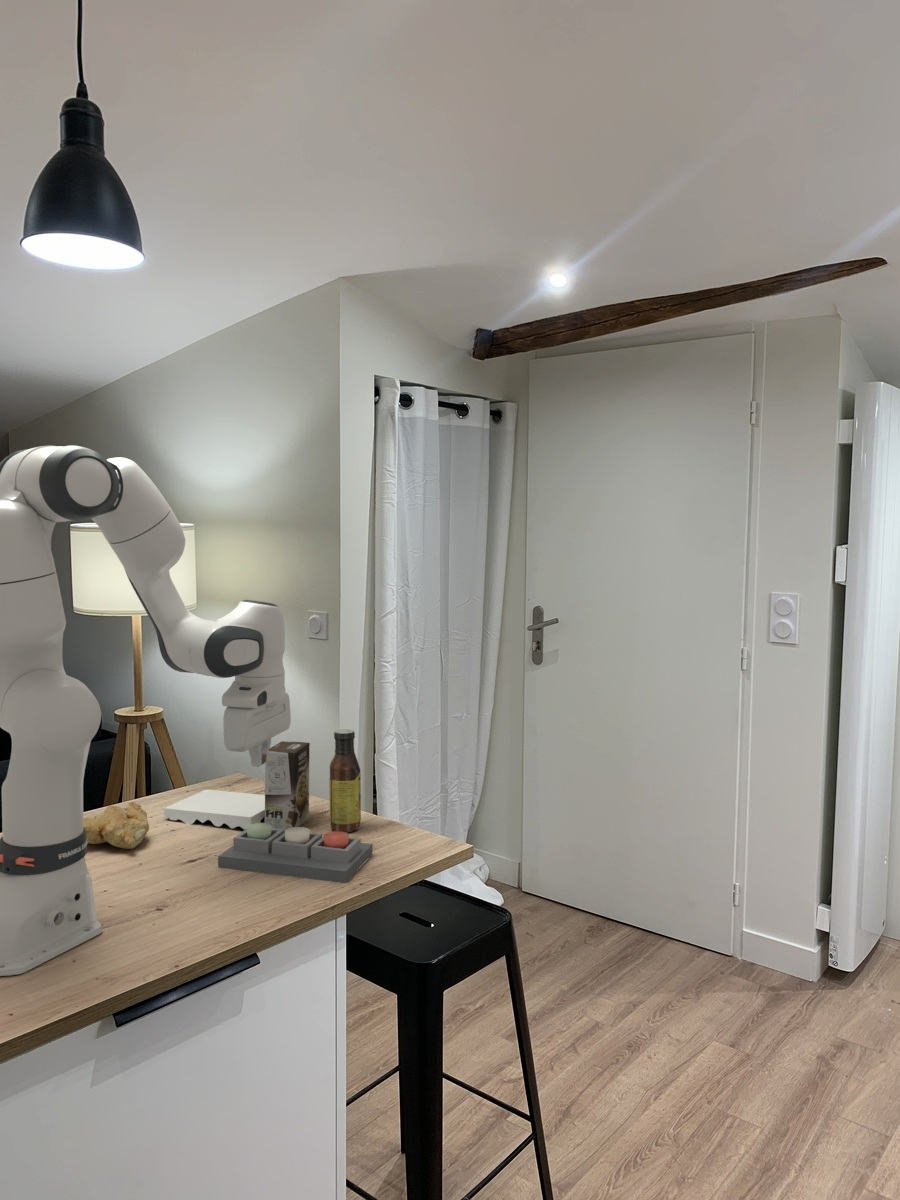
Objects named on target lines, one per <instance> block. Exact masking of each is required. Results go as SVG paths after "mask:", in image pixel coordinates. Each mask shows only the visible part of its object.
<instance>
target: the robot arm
mask: <svg viewBox="0 0 900 1200" xmlns="http://www.w3.org/2000/svg"><path fill="white" fill-rule="evenodd" d="M86 520H92V521H93V522H94V523H95V525H97V526H98V528H99V530H100V531H101V533H102V535H103V536H104V538H105V540H106V542H107V543H108V544H109V546H110V548H111V549H112V551H113V552H114V554H115V556H116V557H117V558H118V560H119V562H120V564H122V566H123V569H124V572H125V574H126V576H127V579H128V581H129V583H130V585H131V587H132V589H133V590H134V593H135V594H136V596H137V599H138V600H139V602H140V603H141V605H142V607H143V609H144V610H145V612H146V615H147V616H148V618H149V620H150V621H151V622H150V623H152V625H153V628H154V630H155V633H156V636H157V642H158V647H159V652H160V654H161V657H162V660H163V661H164V662H165V664H166V665H167V666H168V667H169V668H171V669H172V670H173V671H176V672H179V673H190V674H197V675H201V676H207V677H213V678H218V679H226V678H227V679H228V678H232V677H234V680H233V681H232V682H231V684H230V686H229V687H228V688H227V690H226V691H225V692H224V693H223V694H222V696H221V705H222V706H223V707H225V710H224V712H223V722H222V723H223V724H222V725H223V743H224V747H225V748H226V750H227V751H229V752H238V753H244V752H247V751H248V753H249V756H250V765H251V767H254V768H259V767H261V766H262V765H265V763H266V762H267V761H268V752H269V749H270V748H271V744H272V738H274V737H276V736H278V735H280V734H281V733H283V732H285V731H287V730H289V728H290V726H291V723H292V722H291V721H292V720H291V716H292V715H291V701H290V696H289V694H288V693H287V691H286V687H285V686H286V685H285V682H286V681H285V680H286V677H285V675H286V674H285V673H286V672H285V668H284V661H283V658H284V655H285V651H286V633H285V619H284V615H283V612H282V609H281V608H280V607H279V606H278V605H277V604H275V603H272V602H268V601H267V602H266V601H259V600H253V599H244V600H241V601H239V602H238V604H237V606H236V607H235V608H234V609H232V610H231V611H230V612H229V613H227V614H226V615H224V616H222V617H220V618H217V619H215V620H210V619H204V618H201V617H199V616H197V615H195V614H193V613H192V612H191V611H190V610H188V608H187V607H186V605H185V603H184V602H183V599H182V597H181V595H180V594H179V592H178V590H177V587H176V586H175V584H174V582H173V580H172V577H171V575H170V573H171V572H170V570H171V569H173V567H175V565H176V564H178V562H179V560H180V559H181V558H182V556H183V554H184V551H185V548H186V538H185V533H184V531H183V528H182V526H181V524H180V521H179V519H178V518H177V516H176V515H175V513H174V511H173V510H172V508H171V506H170V504H169V503H168V502H167V500H166V498H165V497H164V495H163V494H162V493H161V491H160V489H159V488H158V487H157V486H156V484H155V483H154V481H152V479H151V478H150V477H149V476H148V475H147V473H146V472H145V471H144V470H143V468H141V467H140V465H138V463H136V462H135V461H133V460H132V459H129V458H126V457H123V456H122V457H111V458H110V457H109V458H107V459H106V457H104V456H103V455H102V454H100V453H98V452H97V451H95V450H93V449H91V448H88V447H85V446H80V445H75V444H74V445H65V446H61V445H60V446H56V445H40V446H35V447H31V448H29V449H22V450H21V449H20V450H17V451H15V452H13V453H10V454H9V455H7V456H6V457H5V458H4V459H3V460H1V461H0V729H2V730H3V731H5V732H7V733H8V734H9V735H10V738H11V750H10V751H11V753H10V759H9V764H8V769H7V774H6V776H5V778H4V781H3V782H2V784H1V817H2V818H1V819H2V820H1V821H2V822H1V824H2V825H1V827H2V831H1V833H2V836H0V977H2V976H14V975H21V974H25V973H26V972H28V971H30V970H31V969H35V968H36V967H37V966H40V965H42V964H44V963H45V962H47V961H49V960H51V959H53V958H55V957H57V956H59V955H61V954H63V953H65V952H68V951H69V950H71V949H73V948H75V947H77V946H79V945H80V944H83V943H84V942H87V941H89V940H90V939H92V938H95V937H97V936H98V935H100V934H101V933H102V932H103V927H102V923H101V922H100V921H99V920H98V919H97V913H96V905H95V904H96V903H95V896H94V887H93V878H92V875H91V874H90V871H89V869H88V866H87V864H86V857H85V856H86V855H87V853H88V844H89V843H88V840H87V835H86V829H85V828H84V827H83V819H84V778H85V773H86V771H85V770H86V766H87V761H88V755H89V753H90V747H91V742H92V740H93V738H94V737H95V736H96V734H97V732H98V730H99V728H100V725H101V721H102V711H101V706H100V703H99V701H98V699H97V698H96V697H95V695H94V693H93V692H92V691H91V689H90V688H88V686H87V685H86V684H85V683H84V682H83V681H81V680H79V679H77V678H75V677H72V676H70V675H68V674H67V673H66V671H65V668H64V663H63V662H64V660H63V645H64V644H63V643H64V642H63V639H64V632H65V630H66V625H67V619H66V614H65V610H64V605H63V598H62V594H61V589H60V584H59V578H58V572H57V569H56V564H55V559H54V557H53V553H52V549H51V548H52V538H53V537H52V535H53V532H54V528H55V526H56V524H57V523H64V522H71V521H79V522H80V521H86Z"/></svg>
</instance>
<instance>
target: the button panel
mask: <svg viewBox="0 0 900 1200" xmlns="http://www.w3.org/2000/svg"><path fill="white" fill-rule="evenodd" d="M361 840H362V839H361V837H351V836H349V842H348V846H347V847H346V848H345V849H340V848H332V847H324V835H323V833H317V832H316V833H315V832H310V841H308V842H307V843H306V844H297V843H288V842H285V831H284V830H282V829H273V828H271V837H269V838H268V839H267V840H262V839H253V838H247V829H243V831H241V832H240V833H238V834H237V835H235V836H234V837H233V845H232V846H230V847H229V848H227V849H226V850H225V851H223V852H221V854H219V855H218V856H217V867H218V868H222V867H224V869H225V868H226V869H231V868H234V869H233V870H239V869H241V870H240V871H247V870H250V871H249V872H255V871H256V873H263V872H264V874H272V875H279V876H289V877H296V878H297V877H298V878H303V879H310V880H312V879H313V880H319V881H320V880H321V881H329V882H336V883H342V884H346V883H347V882H348V881H349V880H350V879H351V878H352V877H353V876H354V875H355V873H357V871H358V870H359V869H360V868H361V867H362V866H363V865H364V864H365V863H366V862H367V861H368V860H369V859H370V858H369V857H370V856H371V855H372V856H373V843H366V842H361ZM372 856H371V857H372ZM368 858H369V859H368ZM367 859H368V860H367ZM366 860H367V861H366ZM365 861H366V862H365ZM364 862H365V863H364ZM363 863H364V864H363ZM362 864H363V865H362ZM361 865H362V866H361ZM360 866H361V867H360ZM359 867H360V868H359ZM357 869H358V870H357ZM353 874H354V875H353ZM352 875H353V876H352ZM351 876H352V877H351ZM350 877H351V878H350ZM349 878H350V879H349ZM345 882H346V883H345Z"/></svg>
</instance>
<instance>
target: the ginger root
mask: <svg viewBox="0 0 900 1200" xmlns="http://www.w3.org/2000/svg"><path fill="white" fill-rule="evenodd" d="M147 816H148V814H147V811H146V810H144V809H142V805H141V803H136V802H135V801H129V803H128V805H127V806H126V811H125V810H124V808H122V807H121V806H119V805H108V806H107V807H106V808H105V810H104V812H103V813H100V814H98V815H95V816H94V817H85V818H83V827H84V828H85V829H86V835H87V840H88V844H91V845H97V844H104V843H108V844H110V845H111V846H113V847H116V848H119V849H125V850H133V849H134V848H136V847H137V846H139V844H141V842H142V841H143V839H144V838H145V837H146V835H147V833H148V832H149V830H150V824H149V821H148V817H147Z"/></svg>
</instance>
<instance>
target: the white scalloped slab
mask: <svg viewBox="0 0 900 1200" xmlns="http://www.w3.org/2000/svg"><path fill="white" fill-rule="evenodd" d="M163 811H164V812H163V815H164V817H163V818H164V819H166V818H168V819H169V820H171V821H178V820H180V821H181V822H183V823H184V824H186V823H190V824H189V825H193V824H194V823H195V822H196V821H197V820H198V821H199V822H201V823H202V824H203V823H205V822H207V821H209V822H210V821H211V823H212V824H213V826H215V827H221V826H222V825H223V824H225V825H227V826H228V827H229V828H230V829H233V830H234V829H236V828H237V827H240V828H241V829H243V830H246V829H247V826H248V825H250V824H254V823H261V821H262V820H263V819H264V818H265V794H261V793H259V794H258V793H257V794H256V793H250V792H249V793H248V792H237V791H225V790H215V789H203V790H201V791H199V792H197V793H194V794H193V795H190V796H188V797H186V798H184V799H181V800H179V801H177V802H175V803H173V804H170V805H169V806H165V807H164V808H163Z"/></svg>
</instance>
